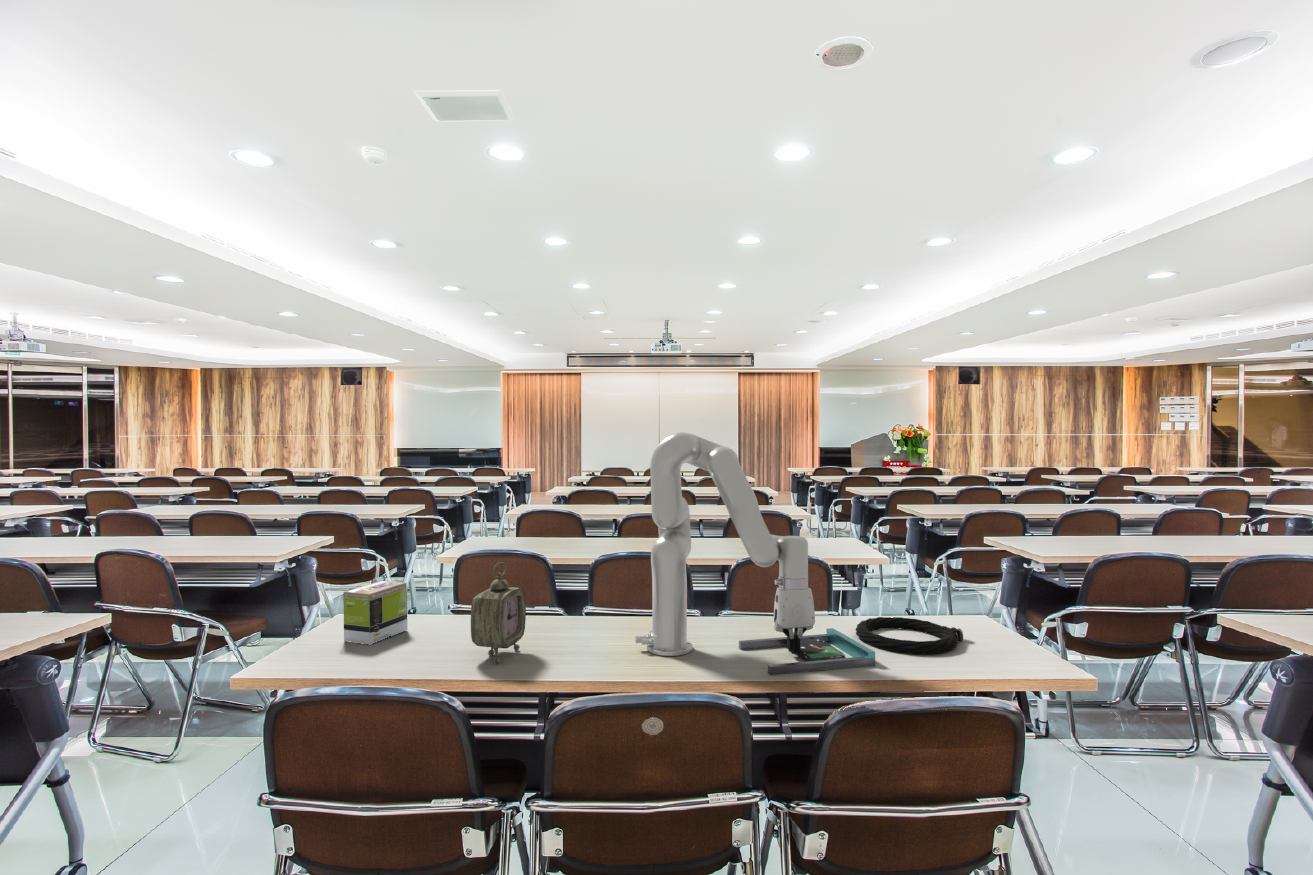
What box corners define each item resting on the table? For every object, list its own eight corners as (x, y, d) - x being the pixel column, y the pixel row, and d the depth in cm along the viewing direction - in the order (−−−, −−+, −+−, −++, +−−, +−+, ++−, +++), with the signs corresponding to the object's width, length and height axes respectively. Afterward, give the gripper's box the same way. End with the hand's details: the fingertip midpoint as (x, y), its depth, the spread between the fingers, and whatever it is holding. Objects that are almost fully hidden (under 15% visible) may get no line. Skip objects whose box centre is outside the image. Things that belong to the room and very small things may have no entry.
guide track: (770, 675, 151) (770, 660, 151) (738, 647, 171) (738, 635, 172) (875, 665, 158) (875, 651, 158) (832, 640, 178) (832, 628, 178)
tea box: (381, 627, 190) (382, 579, 190) (408, 631, 187) (408, 582, 187) (342, 642, 176) (342, 590, 176) (369, 646, 172) (370, 593, 173)
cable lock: (843, 614, 193) (940, 615, 193) (843, 627, 193) (940, 627, 193) (873, 642, 166) (985, 643, 165) (873, 657, 166) (985, 657, 165)
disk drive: (785, 650, 172) (811, 668, 157) (785, 640, 172) (811, 657, 157) (819, 647, 174) (847, 665, 160) (819, 637, 174) (847, 654, 160)
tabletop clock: (500, 667, 156) (500, 568, 157) (468, 664, 158) (468, 566, 159) (525, 649, 170) (526, 558, 171) (495, 646, 172) (496, 556, 173)
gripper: (773, 587, 159) (773, 659, 159) (826, 584, 162) (826, 654, 162) (761, 581, 166) (761, 649, 166) (812, 578, 170) (812, 645, 169)
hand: (793, 652), depth 164 cm, fingers closed
